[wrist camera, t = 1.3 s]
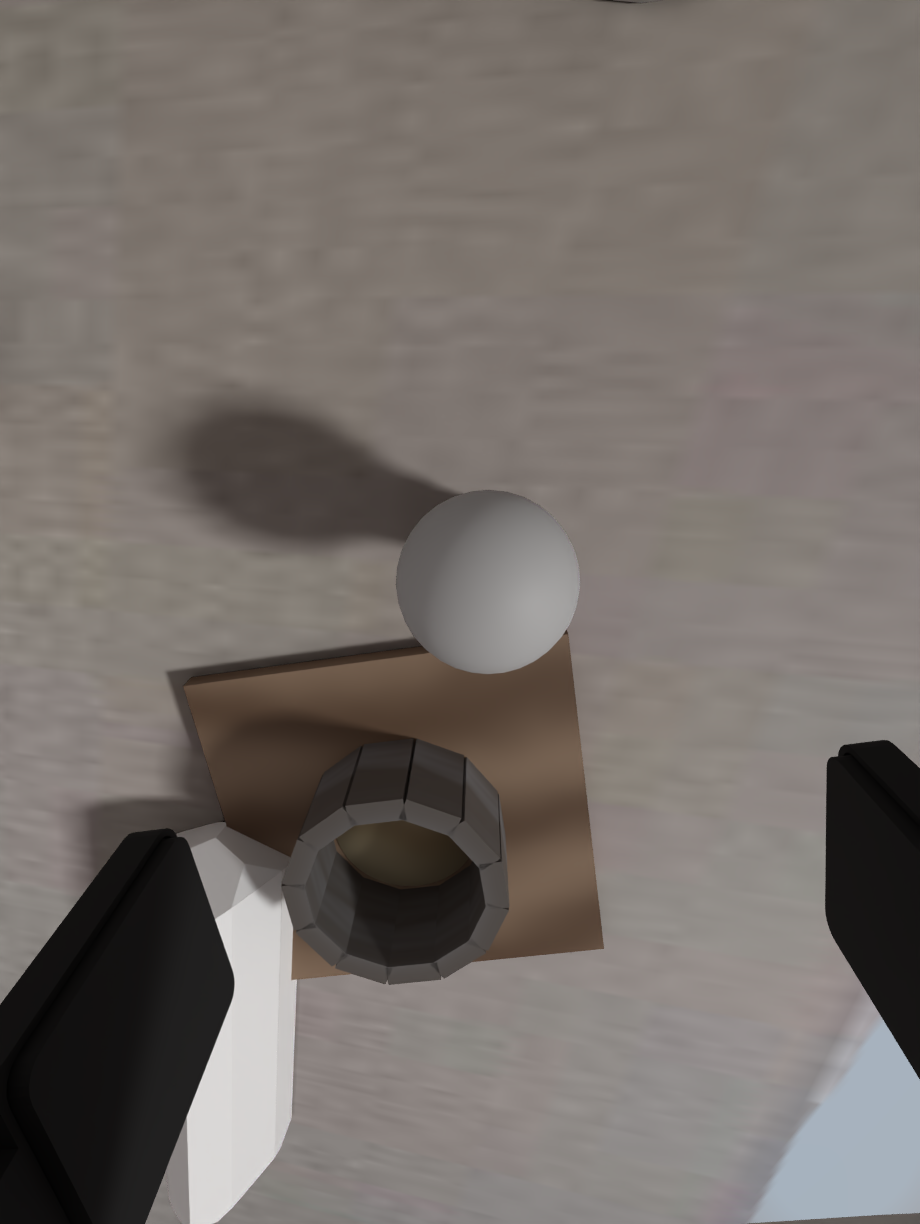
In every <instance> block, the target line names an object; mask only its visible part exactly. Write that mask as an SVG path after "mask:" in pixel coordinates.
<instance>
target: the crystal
mask: <svg viewBox="0 0 920 1224" xmlns="http://www.w3.org/2000/svg"><path fill="white" fill-rule="evenodd" d="M176 835H177V837H184V838H185V839H186V840H187V842H188V844H189V846H190V849H191V852H192V855H193V858H194V860H195V863H196V866H197V869H198V872H199V875H200V878H201V881H202V883H203V886H204V889H205V892H206V895H207V898H208V901H209V904H210V907H211V909H212V912H213V915H214V918H215V921H216V924H217V927H218V930H219V932H220V935H221V938H222V941H223V944H224V947H225V950H226V953H227V955H228V958H229V961H230V964H231V967H232V970H233V974H234V981H235V985H234V995H233V999H232V1002H231V1005H230V1007H229V1010H228V1012H227V1015H226V1017H225V1020H224V1022H223V1025H222V1028H221V1030H220V1033H219V1035H218V1038H217V1040H216V1043H215V1046H214V1048H213V1051H212V1053H211V1056H210V1058H209V1061H208V1063H207V1066H206V1069H205V1071H204V1074H203V1076H202V1079H201V1081H200V1084H199V1087H198V1089H197V1092H196V1094H195V1097H194V1099H193V1102H192V1104H191V1107H190V1110H189V1112H188V1115H187V1117H186V1120H185V1122H184V1125H183V1128H182V1130H181V1133H180V1135H179V1138H178V1140H177V1143H176V1146H175V1148H174V1151H173V1153H172V1156H171V1158H170V1161H169V1163H168V1166H167V1169H166V1171H165V1172H166V1179H167V1186H168V1194H169V1201H170V1204H171V1206H172V1208H173V1210H174V1212H175V1214H176V1216H177V1218H178V1219H179V1220H180V1222H181V1223H182V1224H213V1223H215V1222H217V1221H219V1220H220V1219H221V1218H222V1217H223V1216H224V1215H225V1214H226V1213H227V1212H228V1211H229V1210H231V1209H232V1208H233V1207H234V1205H235V1204H236V1203H237V1202H238V1201H239V1199H240V1198H241V1197H242V1196H243V1195H244V1194H245V1192H246V1191H247V1190H248V1189H249V1188H250V1186H251V1185H252V1184H253V1183H254V1182H255V1181H256V1179H257V1178H258V1177H259V1176H260V1175H261V1173H262V1172H263V1171H264V1170H265V1169H266V1168H267V1166H268V1165H269V1164H270V1163H271V1162H272V1161H273V1159H274V1158H275V1156H276V1155H277V1153H278V1151H279V1149H280V1148H281V1145H282V1142H283V1140H284V1137H285V1134H286V1131H287V1129H288V1126H289V1123H290V1121H291V1116H292V1090H293V1064H294V1038H295V1011H296V985H297V980H291V972H292V943H293V926H292V923H291V919H290V916H289V912H288V909H287V905H286V902H285V898H284V895H283V892H282V888H281V885H282V883H281V882H282V879H283V877H284V874H285V871H286V868H287V866H288V863H289V860H290V858H291V857H289V856H287V855H285V854H283V853H280V852H278V851H276V850H274V849H272V848H270V847H268V846H266V845H264V844H262V843H260V842H258V841H256V840H253V839H251V838H249V837H247V836H245V835H243V834H241V833H239V832H237V831H235V830H233V829H231V828H229V827H227V826H226V823H225V822H216V823H212V824H209V825H205V826H201V827H198V828H194V829H190V830H187V831H183V832H179V833H177V834H176ZM274 876H275V877H274ZM263 884H264V885H263ZM259 887H260V888H259ZM252 892H253V893H252ZM248 895H249V896H248ZM241 900H242V901H241ZM281 901H282V906H281ZM237 903H238V904H237ZM233 906H234V907H233ZM230 908H231V909H230ZM217 917H218V918H217ZM280 937H281V942H280ZM279 973H280V977H279ZM278 1009H279V1013H278ZM277 1046H278V1048H277ZM276 1082H277V1084H276Z"/></svg>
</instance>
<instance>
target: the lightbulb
mask: <svg viewBox="0 0 920 1224" xmlns="http://www.w3.org/2000/svg"><path fill="white" fill-rule="evenodd" d="M396 589H397V596H398V602H399V606H400V609H401V611H402V614H403V617H404V620H405V622H406V624H407V626H408V627H409V629H410V631H411V632H412V634H413V636H414V637H415V638H416V639H417V640H418V642H419V643H420V644H421V645H422V646H423V647H424V648H425V649H426V650H427V651H428V652H430V653H431V654H432V655H434V656H435V657H436V658H438V659H439V660H440V661H442V662H444V663H446V664H448V665H450V666H452V667H454V668H457V669H460V670H464V671H467V672H471V673H481V674H495V673H505V672H508V671H512V670H516V669H520V668H522V667H524V666H526V665H528V664H530V663H532V662H534V661H536V660H537V659H538V658H540V657H541V656H542V655H544V654H545V653H547V652H548V651H549V650H550V649H551V648H552V647H553V646H554V645H555V644H556V643H557V641H558V640H559V639H560V638H561V637H562V636H563V634H564V632H565V631H566V629H567V628H568V626H569V624H570V623H571V620H572V617H573V615H574V612H575V609H576V607H577V602H578V596H579V589H580V572H579V565H578V561H577V557H576V553H575V550H574V548H573V546H572V544H571V542H570V540H569V538H568V536H567V534H566V532H565V531H564V529H563V528H562V527H561V526H560V524H559V523H558V522H557V521H556V519H555V518H554V517H553V516H552V515H551V514H549V513H548V512H547V511H546V510H545V509H543V508H542V507H541V506H540V505H538V504H536V503H534V502H532V501H530V500H529V499H527V498H525V497H522V496H519V495H516V494H512V493H509V492H504V491H494V490H483V491H473V492H468V493H464V494H461V495H458V496H454V497H452V498H450V499H448V500H446V501H444V502H442V503H440V504H439V505H437V506H435V507H434V508H433V509H432V510H431V511H429V512H428V513H427V514H426V515H425V516H423V517H422V518H421V520H420V521H419V522H418V523H417V525H416V526H415V527H414V528H413V530H412V531H411V533H410V535H409V537H408V539H407V541H406V542H405V544H404V546H403V549H402V551H401V555H400V558H399V562H398V566H397V576H396Z"/></svg>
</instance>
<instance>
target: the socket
mask: <svg viewBox="0 0 920 1224" xmlns="http://www.w3.org/2000/svg"><path fill="white" fill-rule="evenodd" d="M183 687H184V691H185V694H186V697H187V700H188V704H189V707H190V710H191V713H192V716H193V720H194V723H195V726H196V729H197V732H198V736H199V739H200V742H201V745H202V749H203V752H204V755H205V758H206V761H207V765H208V768H209V771H210V774H211V778H212V781H213V784H214V787H215V790H216V794H217V797H218V800H219V803H220V807H221V810H222V813H223V816H224V819H225V823H226V826H227V827H229V828H231V829H233V830H235V831H237V832H239V833H241V834H243V835H245V836H247V837H249V838H251V839H253V840H256V841H258V842H260V843H262V844H264V845H266V846H268V847H270V848H272V849H274V850H276V851H278V852H280V853H283V854H285V855H287V856H289V857H291V858H290V860H289V863H288V866H287V868H286V871H285V874H284V877H283V879H282V882H281V883H282V885H281V888H282V892H283V895H284V898H285V902H286V905H287V909H288V912H289V916H290V919H291V923H292V926H293V943H292V972H291V980H297V979H307V978H317V977H327V976H337V975H347V974H354V975H357V976H360V977H364V978H367V979H370V980H373V981H376V982H379V983H382V984H386V981H387V979H388V984H389V985H391V984H401V983H411V982H421V981H431V980H441V976H442V977H443V978H446V977H447V976H449V975H451V974H452V973H454V972H456V971H457V970H459V969H461V968H462V967H464V966H466V965H467V964H469V963H471V962H476V961H486V960H496V959H506V958H516V957H526V956H536V955H546V954H555V953H565V952H575V951H585V950H595V949H604V945H603V936H602V928H601V919H600V910H599V901H598V892H597V883H596V875H595V866H594V857H593V848H592V839H591V831H590V822H589V813H588V804H587V795H586V787H585V778H584V769H583V760H582V751H581V743H580V734H579V725H578V716H577V707H576V699H575V690H574V681H573V672H572V663H571V654H570V646H569V637H568V632H567V629H566V631H565V632H564V634H563V636H562V637H561V638H560V639H559V640H558V641H557V643H556V644H555V645H554V646H553V647H552V648H551V649H550V650H549V651H548V652H547V653H545V654H544V655H542V656H541V657H540V658H538V659H537V660H536V661H534V662H532V663H530V664H528V665H526V666H524V667H522V668H520V669H516V670H512V671H508V672H505V673H495V674H481V673H471V672H467V671H464V670H460V669H457V668H454V667H452V666H450V665H448V664H446V663H444V662H442V661H440V660H439V659H438V658H436V657H435V656H434V655H432V654H431V653H430V652H428V651H427V650H426V649H425V648H424V647H423V646H419V647H411V648H404V649H397V650H389V651H382V652H374V653H367V654H360V655H352V656H345V657H338V658H330V659H323V660H315V661H308V662H301V663H293V664H286V665H279V666H271V667H264V668H256V669H249V670H242V671H234V672H227V673H219V674H212V675H205V676H197V677H191V678H190V679H189V680H188V681H187V683H186V684H185V685H184V686H183ZM274 877H275V876H274ZM263 885H264V884H263ZM259 888H260V887H259ZM252 893H253V892H252ZM248 896H249V895H248ZM281 906H282V901H281ZM280 942H281V937H280ZM279 977H280V973H279Z"/></svg>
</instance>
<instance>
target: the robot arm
mask: <svg viewBox="0 0 920 1224" xmlns="http://www.w3.org/2000/svg"><path fill="white" fill-rule="evenodd" d="M615 1H627V2H638V3H647V2H654V1H661V0H615ZM825 911H826V918H827V922H828V926H829V929H830V931H831V934H832V936H833V938H834V940H835V941H836V943H837V945H838V946H839V948H840V950H841V951H842V953H843V955H844V956H845V958H846V959H847V961H848V963H849V964H850V966H851V968H852V969H853V971H854V973H855V974H856V976H857V977H858V979H859V981H860V982H861V984H862V986H863V987H864V989H865V991H866V992H867V994H868V995H869V997H870V999H871V1000H872V1002H873V1004H874V1005H875V1007H876V1009H877V1010H878V1012H879V1013H880V1015H881V1017H882V1018H883V1020H884V1022H885V1023H886V1025H887V1027H888V1028H889V1030H890V1031H891V1033H892V1035H893V1036H894V1038H895V1039H896V1041H897V1043H898V1045H899V1046H900V1048H901V1049H902V1051H903V1053H904V1054H905V1056H906V1057H907V1059H908V1061H909V1062H910V1064H911V1066H912V1067H913V1069H914V1070H915V1072H916V1074H917V1076H918V1077H919V1079H920V768H919V767H918V766H917V765H916V764H915V763H914V762H912V761H911V760H910V759H909V758H908V757H907V756H906V755H905V754H904V753H903V752H902V751H901V750H900V749H898V748H897V747H896V746H895V745H894V744H893V743H891V742H890V741H887V740H880V741H872V742H864V743H856V744H848V745H843V746H842V747H841V748H840V750H839V753H838V756H837V757H831V758H830V759H829V760H828V762H827V793H826V889H825ZM234 985H235V981H234V974H233V970H232V967H231V964H230V961H229V958H228V955H227V953H226V950H225V947H224V944H223V941H222V938H221V935H220V932H219V930H218V927H217V924H216V921H215V918H214V915H213V912H212V909H211V907H210V904H209V901H208V898H207V895H206V892H205V889H204V886H203V883H202V881H201V878H200V875H199V872H198V869H197V866H196V863H195V860H194V858H193V855H192V852H191V849H190V846H189V844H188V842H187V840H186V839H185V838H184V837H177V835H176V833H175V832H174V831H173V830H171V829H168V828H167V829H159V830H151V831H143V832H135V833H131V834H129V835H128V836H127V837H126V838H125V839H124V840H123V841H122V843H121V844H120V845H119V847H118V848H117V849H116V851H115V852H114V853H113V855H112V856H111V857H110V859H109V860H108V861H107V863H106V864H105V865H104V867H103V868H102V869H101V871H100V872H99V873H98V875H97V876H96V877H95V879H94V880H93V881H92V883H91V884H90V885H89V887H88V888H87V889H86V891H85V892H84V893H83V895H82V896H81V897H80V899H79V900H78V901H77V903H76V904H75V905H74V907H73V908H72V909H71V911H70V912H69V913H68V915H67V916H66V917H65V919H64V920H63V921H62V923H61V924H60V925H59V927H58V928H57V929H56V931H55V932H54V933H53V935H52V936H51V937H50V939H49V940H48V942H47V943H46V944H45V946H44V947H43V948H42V950H41V951H40V952H39V954H38V955H37V956H36V958H35V959H34V960H33V962H32V963H31V964H30V966H29V967H28V968H27V970H26V971H25V972H24V974H23V975H22V976H21V978H20V979H19V980H18V982H17V983H16V984H15V986H14V987H13V988H12V990H11V991H10V992H9V994H8V995H7V996H6V998H5V999H4V1000H3V1002H2V1003H1V1004H0V1224H145V1222H146V1220H147V1217H148V1215H149V1212H150V1210H151V1207H152V1204H153V1202H154V1199H155V1197H156V1194H157V1192H158V1189H159V1187H160V1184H161V1181H162V1179H163V1176H164V1174H165V1171H166V1169H167V1166H168V1163H169V1161H170V1158H171V1156H172V1153H173V1151H174V1148H175V1146H176V1143H177V1140H178V1138H179V1135H180V1133H181V1130H182V1128H183V1125H184V1122H185V1120H186V1117H187V1115H188V1112H189V1110H190V1107H191V1104H192V1102H193V1099H194V1097H195V1094H196V1092H197V1089H198V1087H199V1084H200V1081H201V1079H202V1076H203V1074H204V1071H205V1069H206V1066H207V1063H208V1061H209V1058H210V1056H211V1053H212V1051H213V1048H214V1046H215V1043H216V1040H217V1038H218V1035H219V1033H220V1030H221V1028H222V1025H223V1022H224V1020H225V1017H226V1015H227V1012H228V1010H229V1007H230V1005H231V1002H232V999H233V995H234ZM749 1224H920V1213H914V1214H892V1215H874V1216H873V1215H872V1216H858V1217H842V1218H827V1219H811V1220H797V1221H796V1220H795V1221H781V1222H765V1223H749Z"/></svg>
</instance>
